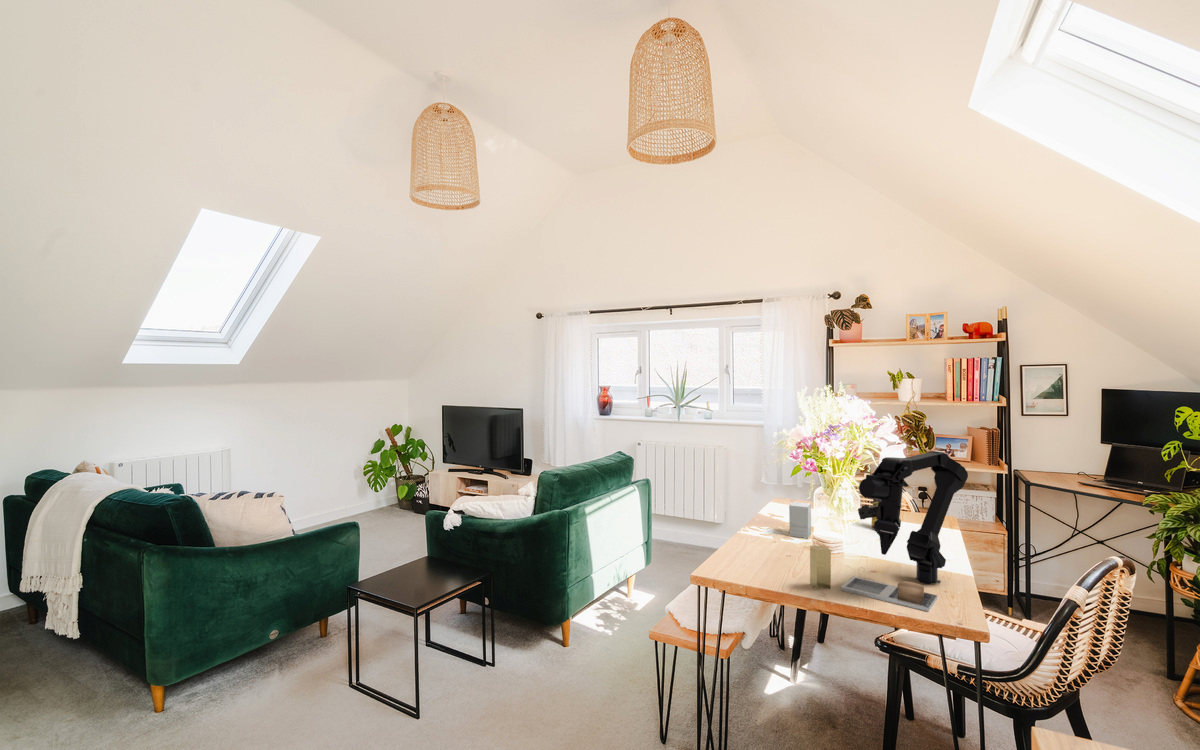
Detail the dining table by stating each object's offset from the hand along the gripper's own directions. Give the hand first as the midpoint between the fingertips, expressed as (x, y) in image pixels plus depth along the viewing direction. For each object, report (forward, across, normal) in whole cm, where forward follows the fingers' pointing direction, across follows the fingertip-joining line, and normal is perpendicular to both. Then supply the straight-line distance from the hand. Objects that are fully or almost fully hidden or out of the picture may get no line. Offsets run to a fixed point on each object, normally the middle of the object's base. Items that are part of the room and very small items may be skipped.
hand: (884, 551), depth 170 cm
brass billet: (+14, +4, -16) cm, 22 cm away
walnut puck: (+11, +5, +8) cm, 14 cm away
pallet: (+12, +4, +2) cm, 13 cm away
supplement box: (+9, -49, -33) cm, 60 cm away
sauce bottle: (+4, -74, -6) cm, 75 cm away
